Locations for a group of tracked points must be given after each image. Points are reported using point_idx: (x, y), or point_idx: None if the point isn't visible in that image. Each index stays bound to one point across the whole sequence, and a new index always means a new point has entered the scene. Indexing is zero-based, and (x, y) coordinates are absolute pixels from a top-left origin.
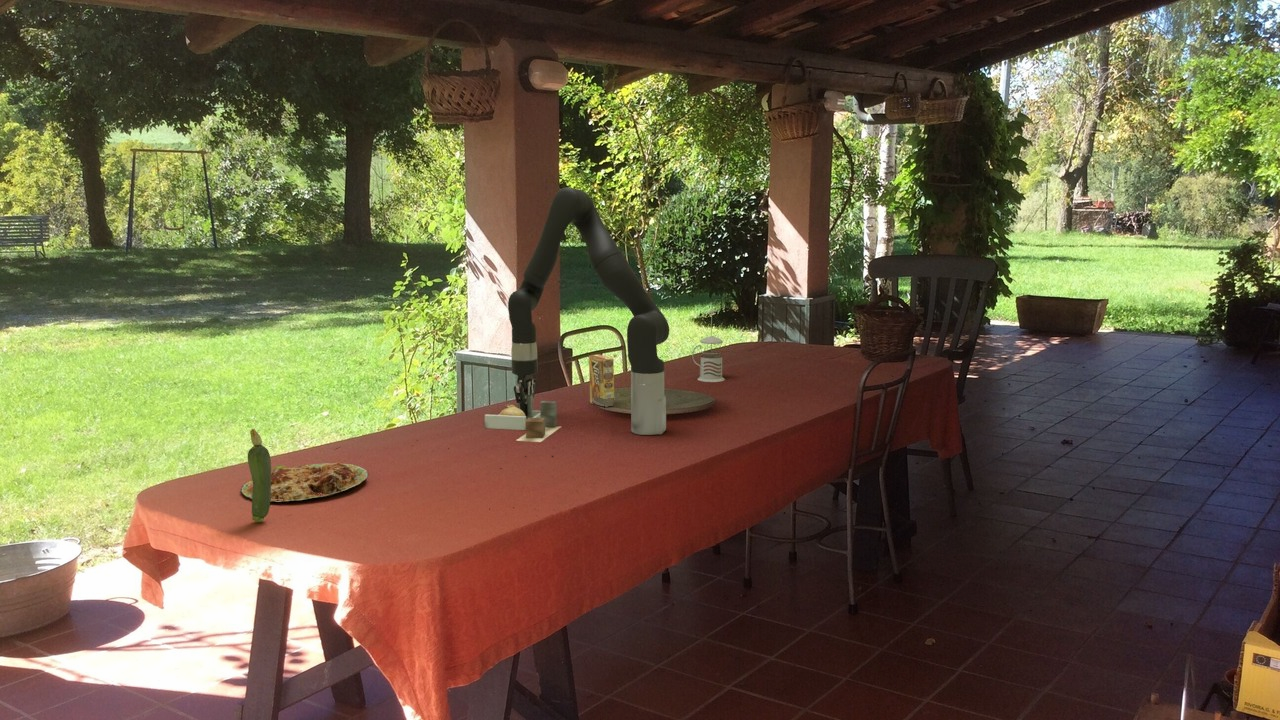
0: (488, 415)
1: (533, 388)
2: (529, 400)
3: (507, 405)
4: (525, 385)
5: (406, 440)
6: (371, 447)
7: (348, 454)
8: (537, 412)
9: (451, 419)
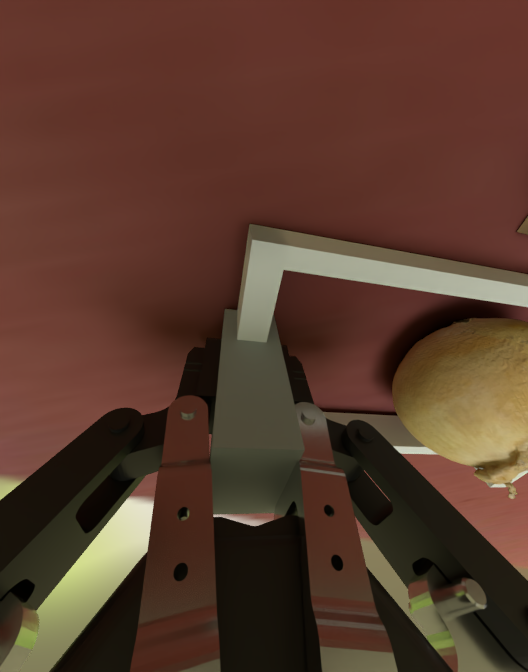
0: (518, 478)
1: (49, 524)
2: (292, 416)
3: (509, 481)
4: (411, 662)
5: (457, 510)
6: (485, 525)
7: (515, 529)
8: (274, 298)
9: None
